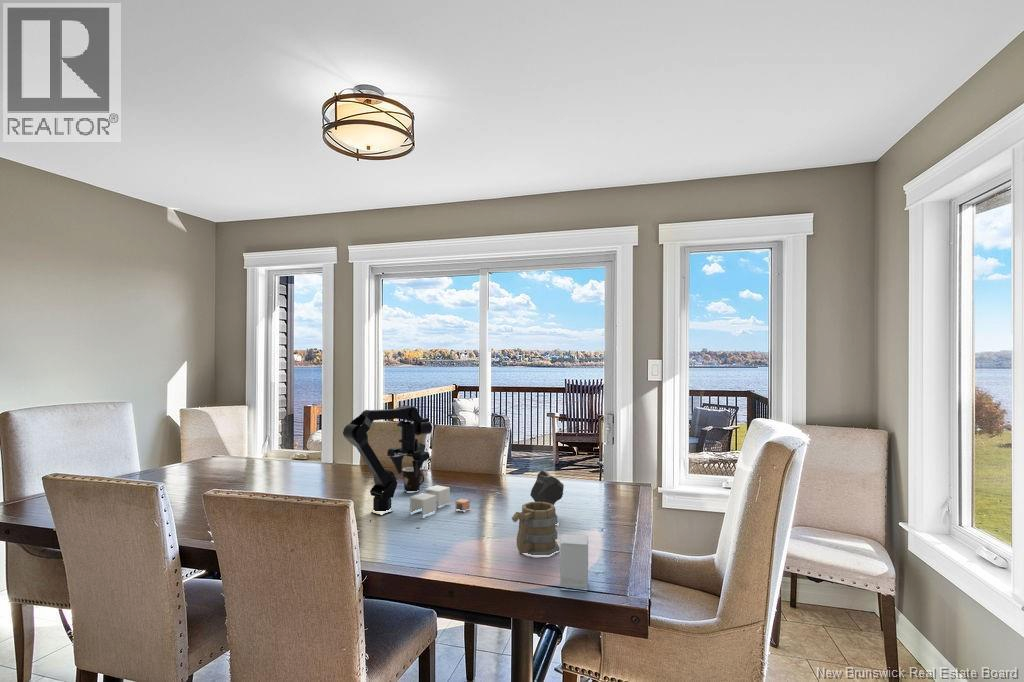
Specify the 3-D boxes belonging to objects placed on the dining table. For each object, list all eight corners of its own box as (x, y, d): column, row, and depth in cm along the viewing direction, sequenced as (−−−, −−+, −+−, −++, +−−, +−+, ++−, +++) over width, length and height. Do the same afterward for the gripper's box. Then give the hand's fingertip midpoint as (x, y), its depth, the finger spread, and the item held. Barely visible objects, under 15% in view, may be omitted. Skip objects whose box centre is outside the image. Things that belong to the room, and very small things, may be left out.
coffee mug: (400, 490, 237) (400, 468, 237) (418, 488, 240) (419, 466, 241) (406, 496, 226) (406, 473, 226) (425, 494, 230) (425, 471, 230)
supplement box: (587, 593, 137) (587, 544, 137) (559, 591, 138) (559, 542, 138) (588, 581, 144) (588, 535, 144) (561, 578, 145) (561, 533, 146)
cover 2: (438, 508, 209) (438, 491, 209) (425, 506, 213) (425, 488, 213) (449, 504, 215) (449, 487, 215) (436, 501, 219) (436, 485, 219)
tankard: (534, 540, 175) (534, 495, 175) (566, 549, 167) (566, 502, 167) (495, 558, 160) (495, 509, 160) (528, 569, 152) (528, 517, 152)
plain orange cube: (463, 513, 204) (463, 502, 204) (455, 511, 206) (455, 501, 206) (469, 510, 208) (469, 500, 208) (461, 508, 210) (461, 498, 210)
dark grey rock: (570, 514, 203) (571, 467, 203) (558, 526, 189) (558, 476, 189) (536, 509, 208) (536, 464, 209) (521, 521, 194) (521, 472, 195)
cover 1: (423, 518, 197) (424, 499, 197) (409, 515, 201) (409, 496, 201) (436, 513, 203) (436, 495, 203) (422, 510, 207) (422, 492, 207)
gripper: (438, 436, 215) (438, 474, 215) (405, 432, 226) (405, 468, 225) (420, 440, 206) (419, 479, 206) (386, 435, 216) (386, 473, 216)
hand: (407, 475), depth 213 cm, fingers open, 9 cm apart
